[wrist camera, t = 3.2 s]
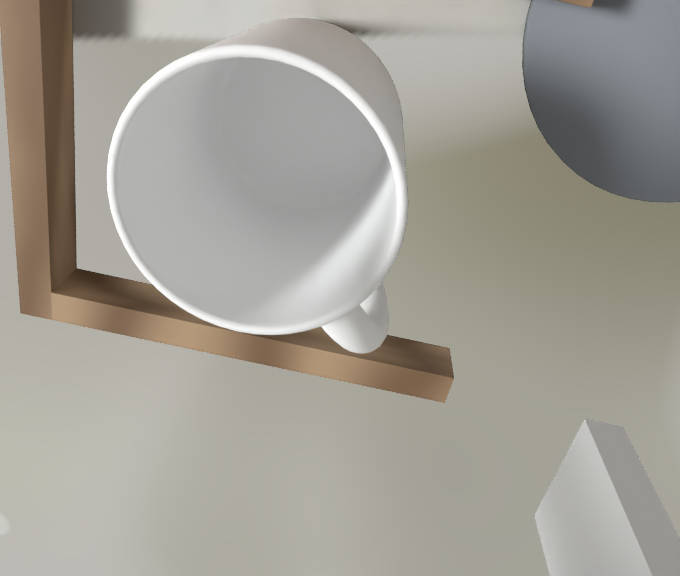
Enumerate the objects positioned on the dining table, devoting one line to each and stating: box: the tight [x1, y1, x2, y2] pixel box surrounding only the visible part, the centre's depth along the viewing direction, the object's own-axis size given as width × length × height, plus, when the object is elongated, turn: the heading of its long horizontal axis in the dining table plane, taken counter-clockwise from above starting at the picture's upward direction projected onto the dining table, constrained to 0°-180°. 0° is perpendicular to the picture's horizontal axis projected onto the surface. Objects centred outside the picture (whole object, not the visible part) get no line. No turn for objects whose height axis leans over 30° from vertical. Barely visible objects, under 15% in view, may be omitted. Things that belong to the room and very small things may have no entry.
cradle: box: [0, 0, 593, 403], centre depth 25 cm, size 20×19×2 cm
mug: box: [107, 18, 408, 354], centre depth 21 cm, size 12×8×10 cm
